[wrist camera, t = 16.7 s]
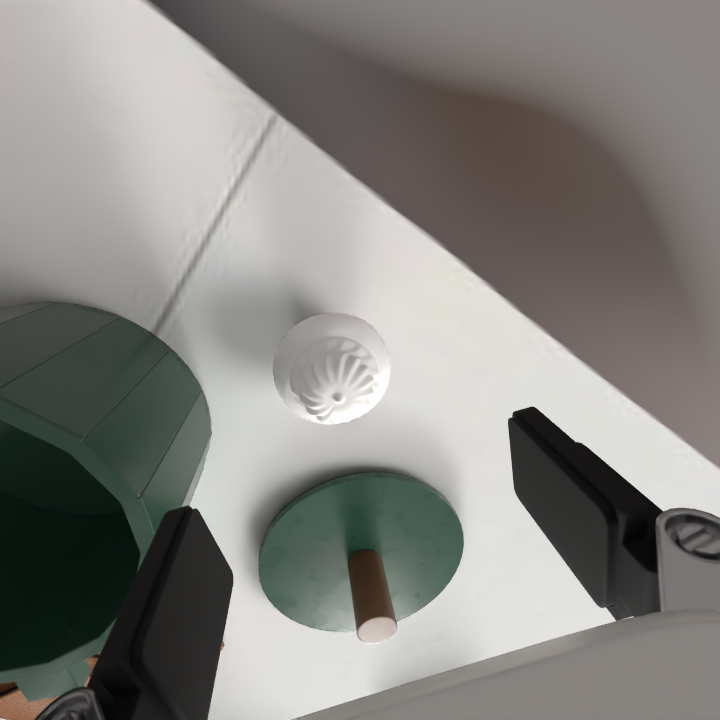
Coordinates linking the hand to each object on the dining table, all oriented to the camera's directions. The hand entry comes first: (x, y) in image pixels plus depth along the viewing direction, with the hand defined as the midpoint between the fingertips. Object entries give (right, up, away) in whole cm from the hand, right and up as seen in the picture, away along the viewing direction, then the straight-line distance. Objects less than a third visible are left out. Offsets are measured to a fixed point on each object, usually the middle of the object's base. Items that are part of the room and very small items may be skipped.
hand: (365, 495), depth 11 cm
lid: (0, -11, +18) cm, 21 cm away
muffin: (-2, +5, +12) cm, 13 cm away
